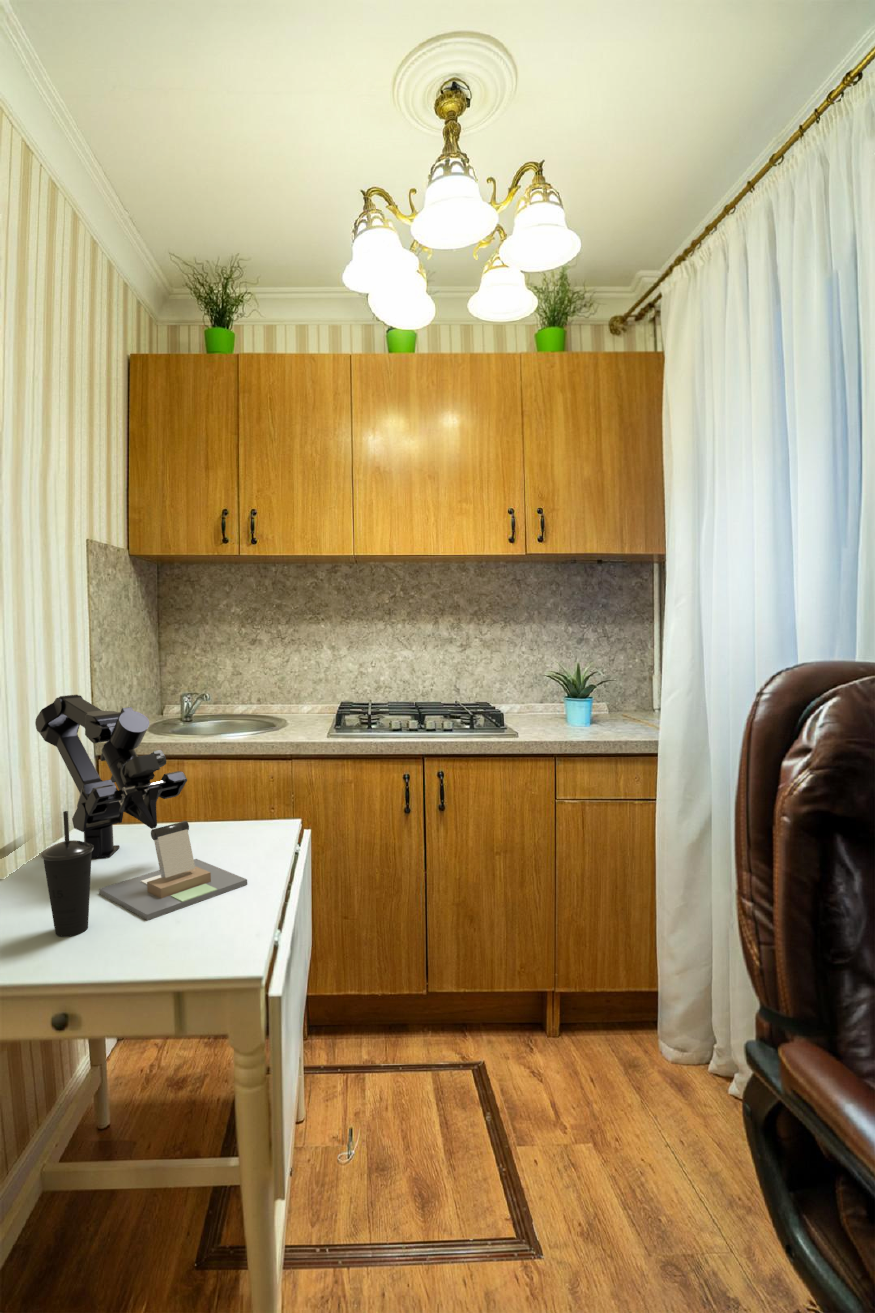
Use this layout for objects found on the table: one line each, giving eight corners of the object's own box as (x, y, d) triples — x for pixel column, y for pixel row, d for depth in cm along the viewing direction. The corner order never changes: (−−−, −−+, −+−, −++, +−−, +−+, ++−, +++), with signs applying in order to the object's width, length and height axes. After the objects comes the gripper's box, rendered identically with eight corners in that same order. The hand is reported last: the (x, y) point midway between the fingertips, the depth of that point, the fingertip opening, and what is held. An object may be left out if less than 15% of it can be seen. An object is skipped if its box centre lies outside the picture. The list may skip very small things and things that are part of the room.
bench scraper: (159, 879, 131) (149, 830, 133) (192, 868, 136) (182, 821, 138) (164, 878, 130) (155, 828, 131) (197, 867, 135) (187, 820, 136)
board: (99, 893, 133) (98, 879, 133) (196, 863, 148) (196, 850, 148) (147, 920, 121) (146, 904, 121) (247, 884, 136) (246, 870, 136)
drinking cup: (57, 921, 121) (51, 805, 120) (104, 919, 122) (98, 804, 121) (36, 942, 114) (29, 819, 112) (86, 939, 114) (80, 817, 113)
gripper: (88, 746, 133) (119, 814, 127) (180, 732, 148) (212, 792, 141) (72, 782, 139) (101, 849, 133) (162, 765, 153) (192, 824, 147)
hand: (154, 827), depth 138 cm, fingers closed
